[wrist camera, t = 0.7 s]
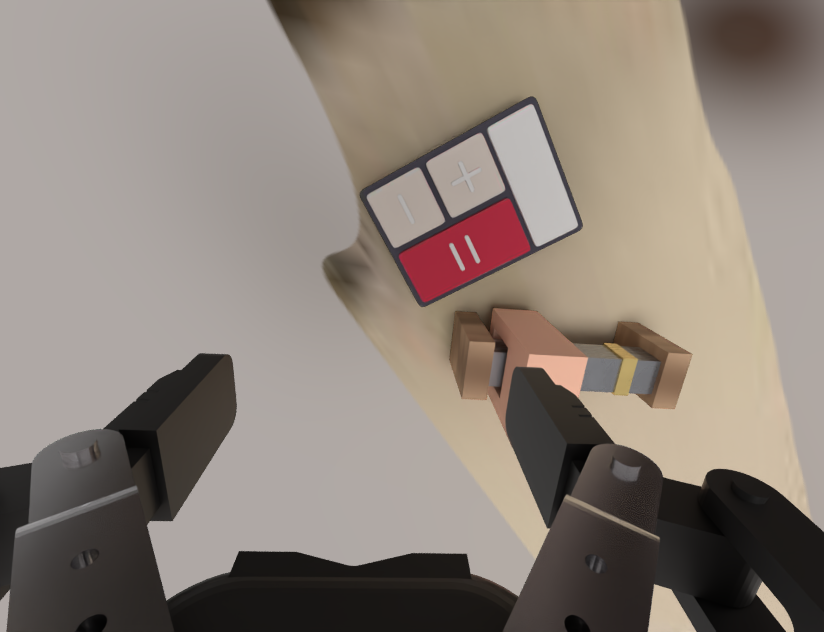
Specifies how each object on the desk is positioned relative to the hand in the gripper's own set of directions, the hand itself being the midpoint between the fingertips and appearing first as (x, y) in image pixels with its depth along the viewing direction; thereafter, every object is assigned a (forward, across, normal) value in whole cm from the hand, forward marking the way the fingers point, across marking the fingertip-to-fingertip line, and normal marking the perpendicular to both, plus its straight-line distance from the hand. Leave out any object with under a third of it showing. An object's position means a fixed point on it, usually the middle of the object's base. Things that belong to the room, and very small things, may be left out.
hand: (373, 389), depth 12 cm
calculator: (+26, -7, -3) cm, 27 cm away
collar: (+24, -12, +9) cm, 28 cm away
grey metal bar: (+22, -16, +9) cm, 28 cm away
